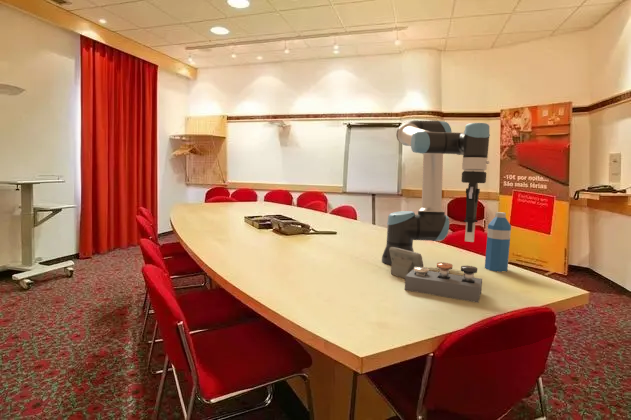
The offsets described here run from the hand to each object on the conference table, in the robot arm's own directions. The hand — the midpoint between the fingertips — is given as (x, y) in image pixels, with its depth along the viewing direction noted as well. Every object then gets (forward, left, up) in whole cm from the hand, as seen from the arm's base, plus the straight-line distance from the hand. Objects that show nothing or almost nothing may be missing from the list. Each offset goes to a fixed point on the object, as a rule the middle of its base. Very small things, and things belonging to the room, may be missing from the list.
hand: (469, 241), depth 129 cm
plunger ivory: (-15, 0, -16) cm, 23 cm away
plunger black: (+1, 0, -14) cm, 14 cm away
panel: (-7, 0, -19) cm, 20 cm away
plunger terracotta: (-7, 0, -14) cm, 16 cm away
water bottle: (+8, +46, -19) cm, 51 cm away
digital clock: (-24, +14, -19) cm, 33 cm away
